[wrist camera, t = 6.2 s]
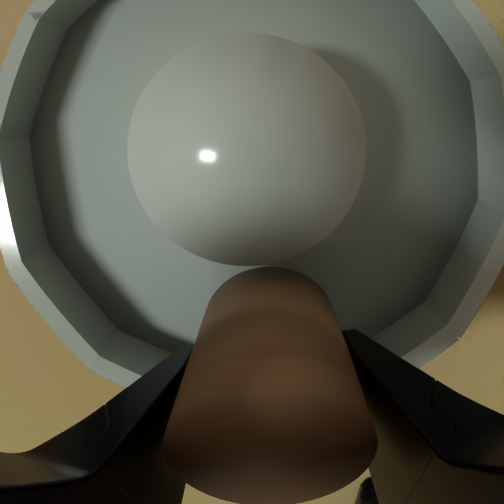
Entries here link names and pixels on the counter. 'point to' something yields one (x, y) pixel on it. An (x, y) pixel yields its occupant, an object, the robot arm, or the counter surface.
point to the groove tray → (356, 264)
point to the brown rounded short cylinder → (269, 396)
